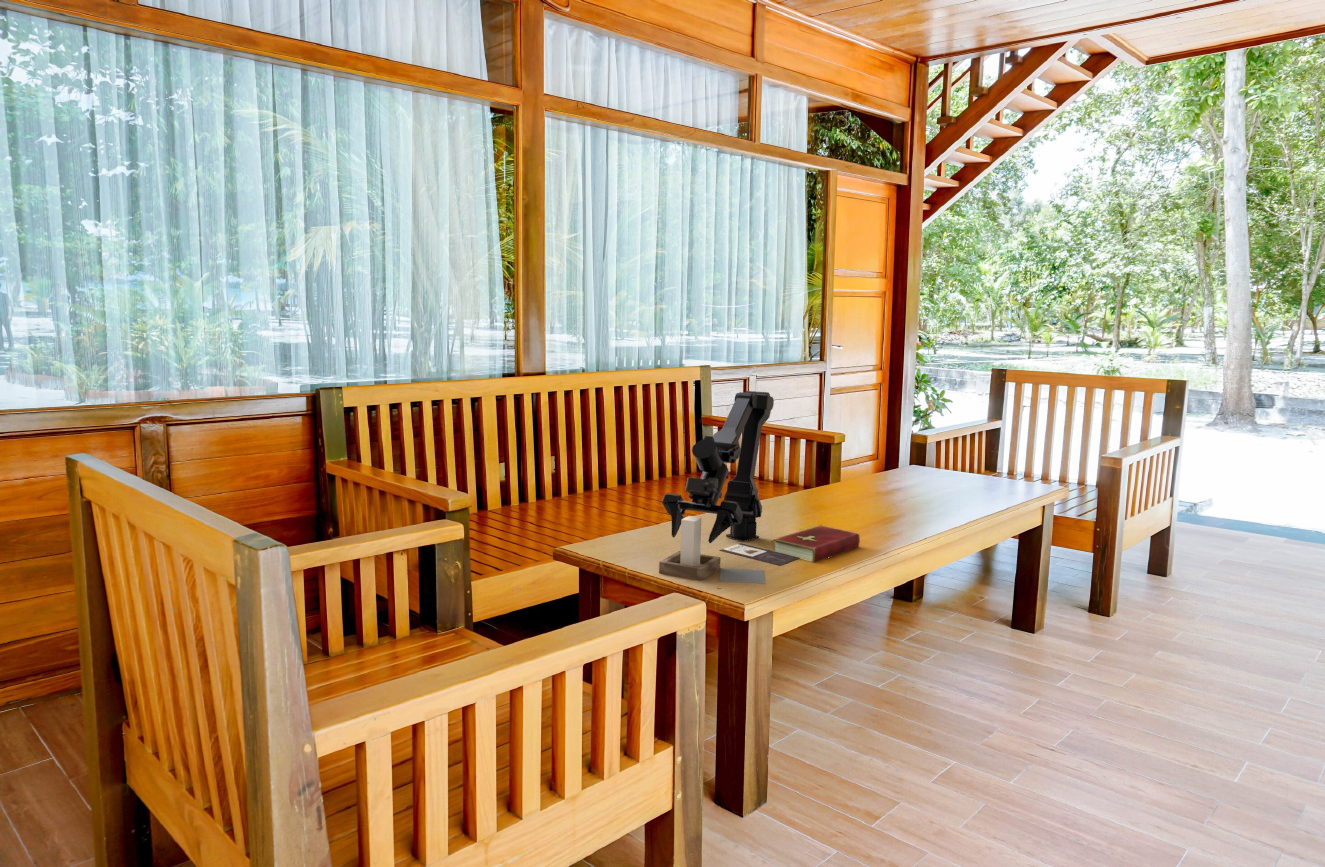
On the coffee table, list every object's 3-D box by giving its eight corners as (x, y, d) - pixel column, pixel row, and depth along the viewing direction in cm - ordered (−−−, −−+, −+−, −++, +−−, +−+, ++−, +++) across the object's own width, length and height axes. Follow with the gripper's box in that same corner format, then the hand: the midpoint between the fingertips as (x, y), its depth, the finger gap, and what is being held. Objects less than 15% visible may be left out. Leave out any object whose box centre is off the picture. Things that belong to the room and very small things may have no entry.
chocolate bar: (779, 565, 208) (719, 550, 220) (779, 569, 208) (719, 553, 220) (800, 557, 215) (740, 543, 227) (800, 561, 215) (740, 546, 227)
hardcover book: (859, 548, 227) (860, 532, 226) (813, 564, 212) (814, 547, 211) (819, 539, 235) (820, 524, 234) (772, 554, 220) (773, 538, 219)
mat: (720, 569, 205) (720, 567, 205) (764, 571, 205) (764, 569, 205) (719, 582, 196) (719, 581, 196) (765, 584, 195) (765, 583, 195)
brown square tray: (678, 562, 210) (679, 550, 210) (720, 568, 206) (720, 557, 205) (659, 573, 201) (659, 561, 200) (701, 581, 196) (702, 569, 196)
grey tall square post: (683, 566, 207) (685, 514, 205) (707, 570, 205) (708, 517, 203) (672, 573, 202) (673, 519, 200) (696, 577, 199) (698, 523, 197)
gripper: (665, 459, 208) (643, 515, 200) (740, 467, 200) (720, 526, 192) (679, 486, 217) (658, 540, 209) (751, 495, 209) (732, 551, 200)
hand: (691, 539), depth 202 cm, fingers open, 9 cm apart
